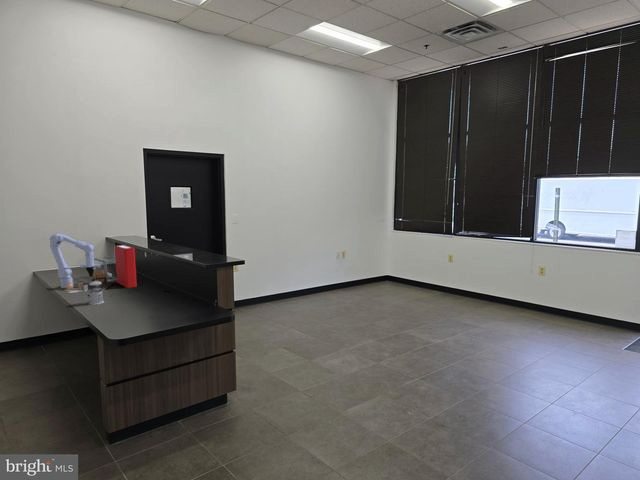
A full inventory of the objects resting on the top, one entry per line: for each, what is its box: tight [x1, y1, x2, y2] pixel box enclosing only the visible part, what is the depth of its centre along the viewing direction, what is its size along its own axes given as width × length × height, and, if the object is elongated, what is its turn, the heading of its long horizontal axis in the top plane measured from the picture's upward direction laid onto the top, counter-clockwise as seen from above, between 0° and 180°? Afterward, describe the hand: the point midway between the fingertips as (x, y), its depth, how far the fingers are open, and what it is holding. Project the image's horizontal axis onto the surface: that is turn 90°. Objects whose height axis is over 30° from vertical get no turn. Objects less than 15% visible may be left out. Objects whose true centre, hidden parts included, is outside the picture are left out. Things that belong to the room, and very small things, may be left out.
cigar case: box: [91, 268, 108, 284], centre depth 353 cm, size 11×2×12 cm, turn 124°
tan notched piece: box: [63, 282, 84, 292], centre depth 328 cm, size 6×12×6 cm, turn 98°
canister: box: [66, 282, 74, 291], centre depth 328 cm, size 4×4×4 cm
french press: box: [88, 267, 105, 306], centre depth 293 cm, size 10×12×25 cm
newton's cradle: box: [94, 256, 117, 282], centre depth 372 cm, size 30×10×18 cm, turn 48°
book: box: [114, 243, 138, 289], centre depth 348 cm, size 27×8×32 cm, turn 41°
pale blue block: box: [67, 284, 89, 294], centre depth 321 cm, size 6×12×6 cm, turn 98°
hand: (91, 276), depth 337 cm, fingers closed
